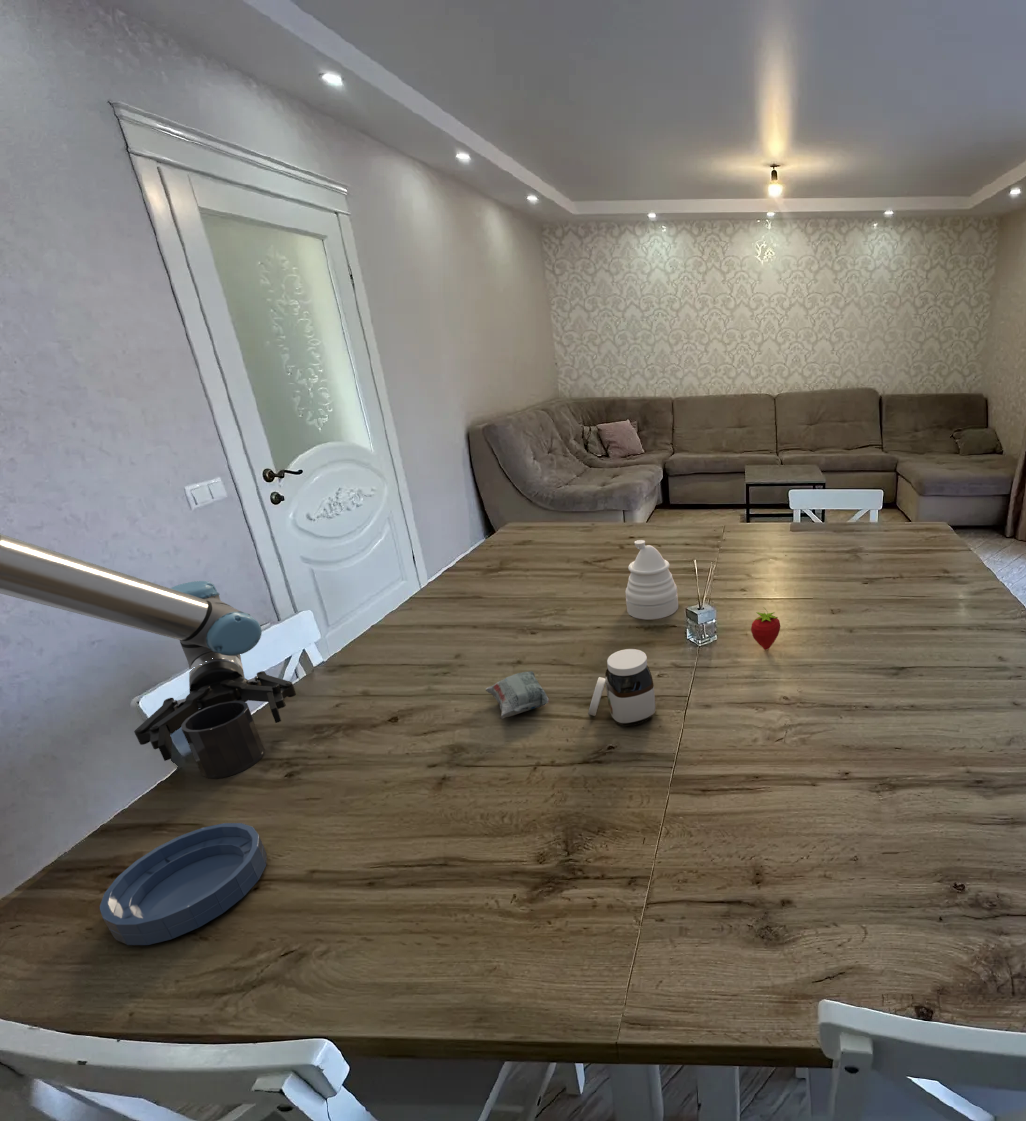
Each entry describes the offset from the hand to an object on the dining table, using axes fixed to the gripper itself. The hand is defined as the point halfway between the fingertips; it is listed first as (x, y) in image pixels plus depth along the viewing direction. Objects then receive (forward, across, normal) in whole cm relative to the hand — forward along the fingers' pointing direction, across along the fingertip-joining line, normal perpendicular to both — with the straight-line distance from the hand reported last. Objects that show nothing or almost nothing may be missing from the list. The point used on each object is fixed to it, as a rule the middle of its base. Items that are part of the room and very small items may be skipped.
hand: (222, 733), depth 93 cm
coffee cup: (-1, 0, -6) cm, 6 cm away
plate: (+27, +5, -6) cm, 28 cm away
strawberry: (+33, -89, -6) cm, 95 cm away
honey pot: (-2, -82, -6) cm, 82 cm away
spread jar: (+32, -53, -6) cm, 62 cm away
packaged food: (+16, -40, -6) cm, 44 cm away
